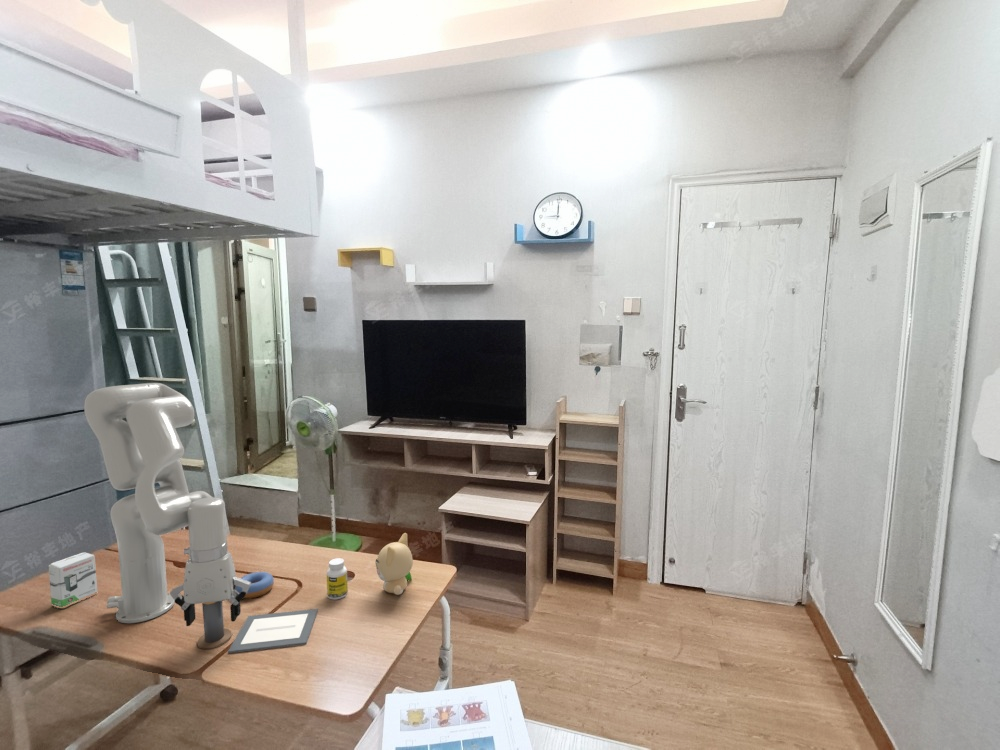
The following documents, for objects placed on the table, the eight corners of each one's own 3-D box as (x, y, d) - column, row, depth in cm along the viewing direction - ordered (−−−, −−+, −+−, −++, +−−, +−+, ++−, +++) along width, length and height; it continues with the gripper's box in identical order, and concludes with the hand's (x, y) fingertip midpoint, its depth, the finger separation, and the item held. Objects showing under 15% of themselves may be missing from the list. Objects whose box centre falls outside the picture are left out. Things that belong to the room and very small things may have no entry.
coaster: (192, 650, 111) (192, 648, 111) (205, 632, 118) (204, 630, 118) (225, 647, 112) (224, 644, 112) (235, 629, 119) (235, 626, 119)
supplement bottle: (326, 601, 131) (325, 567, 130) (328, 591, 136) (326, 558, 135) (347, 598, 132) (346, 564, 131) (348, 588, 138) (347, 555, 137)
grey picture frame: (228, 653, 110) (227, 650, 110) (248, 617, 124) (248, 615, 124) (306, 644, 113) (306, 641, 113) (317, 610, 127) (317, 608, 127)
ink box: (61, 610, 127) (57, 568, 126) (50, 607, 129) (46, 564, 128) (98, 594, 136) (95, 553, 134) (87, 590, 137) (84, 551, 136)
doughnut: (262, 577, 144) (260, 563, 143) (281, 588, 138) (279, 574, 137) (228, 595, 136) (226, 580, 135) (247, 608, 130) (245, 593, 129)
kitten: (393, 574, 146) (391, 526, 144) (423, 578, 143) (422, 529, 142) (366, 600, 131) (364, 547, 130) (399, 606, 129) (397, 552, 127)
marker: (201, 643, 112) (198, 599, 111) (208, 633, 116) (205, 589, 115) (220, 641, 113) (217, 597, 112) (227, 631, 117) (224, 588, 116)
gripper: (160, 562, 108) (165, 634, 109) (243, 555, 111) (246, 625, 112) (176, 547, 115) (180, 615, 117) (253, 541, 118) (257, 607, 120)
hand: (213, 620), depth 115 cm, fingers open, 9 cm apart
